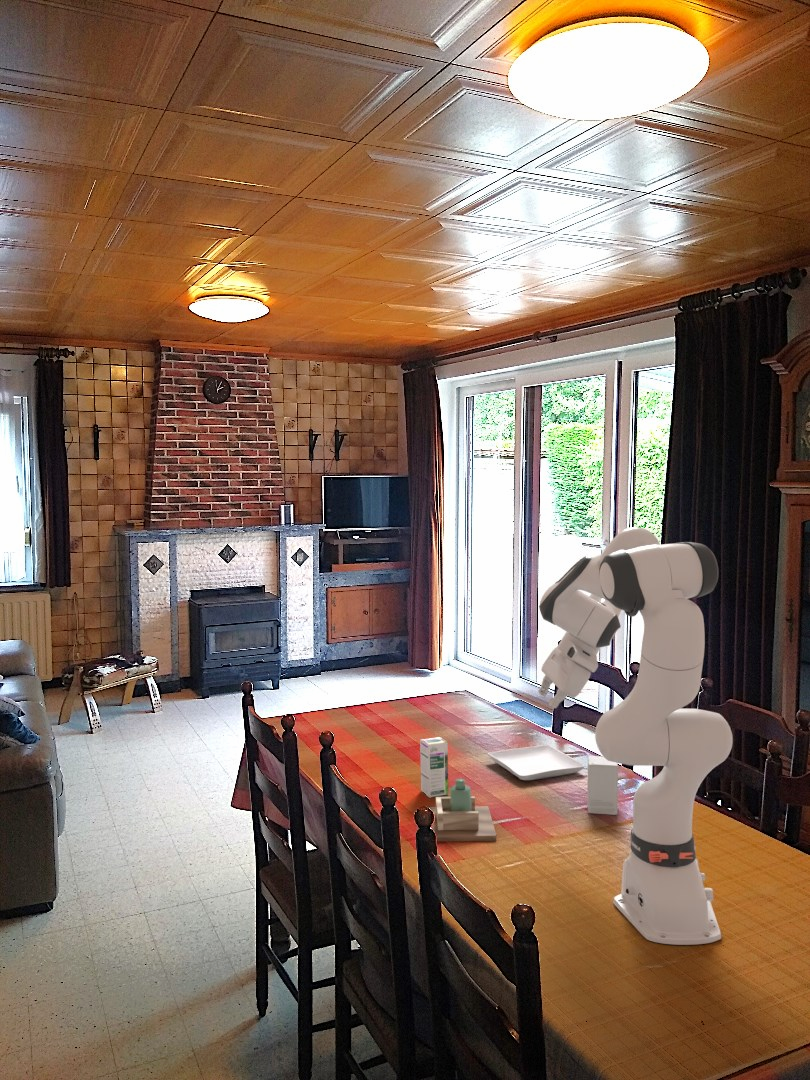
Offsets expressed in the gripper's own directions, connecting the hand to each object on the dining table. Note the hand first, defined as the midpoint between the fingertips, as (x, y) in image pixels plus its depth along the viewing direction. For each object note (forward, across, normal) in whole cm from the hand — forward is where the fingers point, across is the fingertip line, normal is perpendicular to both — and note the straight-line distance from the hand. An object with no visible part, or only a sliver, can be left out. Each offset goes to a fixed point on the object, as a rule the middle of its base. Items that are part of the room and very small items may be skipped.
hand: (546, 700), depth 209 cm
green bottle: (+36, 0, -2) cm, 36 cm away
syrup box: (+40, -23, -4) cm, 46 cm away
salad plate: (+24, -38, +24) cm, 51 cm away
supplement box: (+18, -6, +30) cm, 36 cm away
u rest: (+37, 0, -2) cm, 37 cm away
